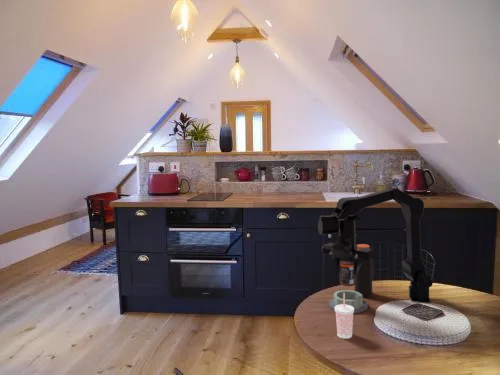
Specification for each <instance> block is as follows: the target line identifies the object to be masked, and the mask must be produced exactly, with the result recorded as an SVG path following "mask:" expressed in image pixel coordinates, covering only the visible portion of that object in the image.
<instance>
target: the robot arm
mask: <svg viewBox="0 0 500 375" xmlns="http://www.w3.org/2000/svg"><path fill="white" fill-rule="evenodd" d="M389 201H394V202H396V203H397V204H399V205H400V207H401V208H400V209H401V213H402V215H403V217H404V219H405V232H406V250H407V251H406V253H407V254H406V255H407V257H406V259H405V260H402V261H401V265H402V266H401V267H402V269H401V271H402V272H403V274H404V275H405V277H406V278H407V279H408V281H409V282H410V283H409V285H408V297H409V299H410V300H411V302H413V301H418V302H417V303H431V299H430V287H432V286H433V283H434V281H433V280H432V279H431V278H430V277H429V276H428V275H427V270H426V266H425V264H424V260H423V258H422V251H421V250H422V248H421V246H422V245H421V226H420V225H421V223H420V222H421V219H422V217H423V215H424V210H425V209H424V208H425V202H424V201H423V200H422V199H421V198H419V197H415V196H412V195H410V194H407V193H405V192H404V191H403V190H401V189H400V188H396V187H389V188H385V189H382V190H380V191H375V192H373V193H367V194H365V195H362V196H348V197H341V198H340V199H338V201H337V203H336V207H335V208H334V210H333V211H332V213H330V214H331V215H319V219H318V223H317V230H318V234H319V235H321V236H323V235H333V234H334V235H335V234H337V233H338V235H337V237H336V242H334V243H333V242H328V243H325V244H323V245H322V247H321V253H322V254H327V255H328V256H329V257H331V258H332V259H333V260H334V263H335V265H336V267H337V270H338V272H339V273H340V260H341V259H343V257H345V255H346V254H353V256H354V255H355V256H356V258H355V257H353V260H354V274H355V276H356V275H357V273H358V271H359V269H360V266H361V264H362V262H363V260H370V259H372V260H373V258H375V254H376V253H375V250H374V249H372V248H370V249H367V248H363V249H361V250H357V245H358V244H356V238H357V237H358V234H357V233H356V222H357V221H361V220H362V218H360V216H359V215H357V213H359V212H361V211H362V210H363V209H366V208H369V207H371V206H372V207H373V206H375V205H379V204H383V203H386V202H389Z"/></svg>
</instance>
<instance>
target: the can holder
mask: <svg viewBox="0 0 500 375" xmlns="http://www.w3.org/2000/svg"><path fill="white" fill-rule="evenodd" d="M343 293H345V304H346V305H350V306H352V307H354V312H353V315H354V314H360V313H363V312H366V311H367V309H368V303H367V301H365V300H364V297H362V294H360V293H359V292H356V291H355V290H349V289H340V290H336V291H335V292H334V293H333V298H331V299H330V300H329V301H328V306H329V308H330V309H331V310H333V311H334V312H335V306H336V305H340V304H343Z"/></svg>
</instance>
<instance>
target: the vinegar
mask: <svg viewBox="0 0 500 375" xmlns="http://www.w3.org/2000/svg"><path fill="white" fill-rule="evenodd" d="M356 245H357V248H356V250H361V249H363V248H367V249H371V248H370V247H371V246H370V245H369V244H366V243H360V244H356ZM354 258H356V255H355V256H354ZM354 291H356V292H359V293H360V294H362V297H363V298H369V297H372V296H373V258H372V259H370V260H363V262H362V264H361V266H360V269H359V271H358V273H357V275H356V285H354Z"/></svg>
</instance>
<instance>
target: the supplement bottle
mask: <svg viewBox="0 0 500 375" xmlns="http://www.w3.org/2000/svg"><path fill="white" fill-rule="evenodd" d="M353 259H354V255H353V254H346V255H345V257H343V258H342V259H341V260H340V272H339V283H340V285H341V286H342V287H355V285H356V276H355V274H354V260H353Z"/></svg>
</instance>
